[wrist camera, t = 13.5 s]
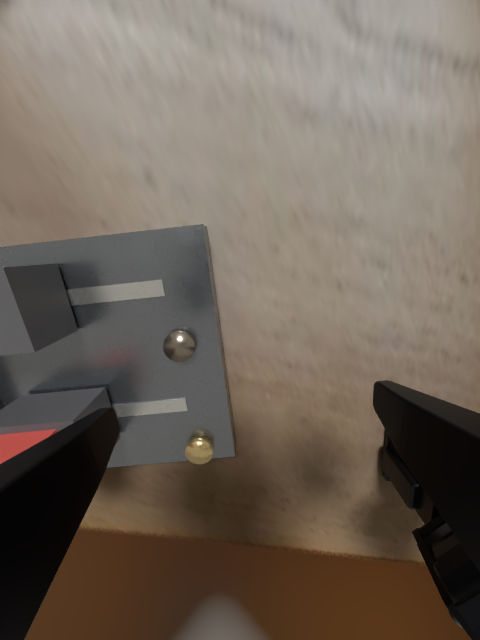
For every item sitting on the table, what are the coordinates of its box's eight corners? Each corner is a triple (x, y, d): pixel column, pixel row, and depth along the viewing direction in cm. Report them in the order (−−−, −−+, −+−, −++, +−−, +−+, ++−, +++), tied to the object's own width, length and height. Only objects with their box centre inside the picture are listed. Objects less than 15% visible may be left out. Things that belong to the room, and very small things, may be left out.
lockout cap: (56, 429, 16) (-12, 496, 12) (74, 475, 17) (18, 552, 13) (-2, 434, 16) (-91, 503, 12) (20, 480, 17) (-54, 558, 13)
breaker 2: (105, 387, 20) (72, 420, 16) (121, 439, 21) (94, 481, 17) (22, 395, 20) (-30, 430, 16) (43, 445, 21) (0, 489, 17)
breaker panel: (206, 226, 18) (199, 221, 15) (235, 440, 24) (234, 471, 21) (-46, 255, 19) (-107, 256, 15) (40, 457, 24) (8, 490, 21)
